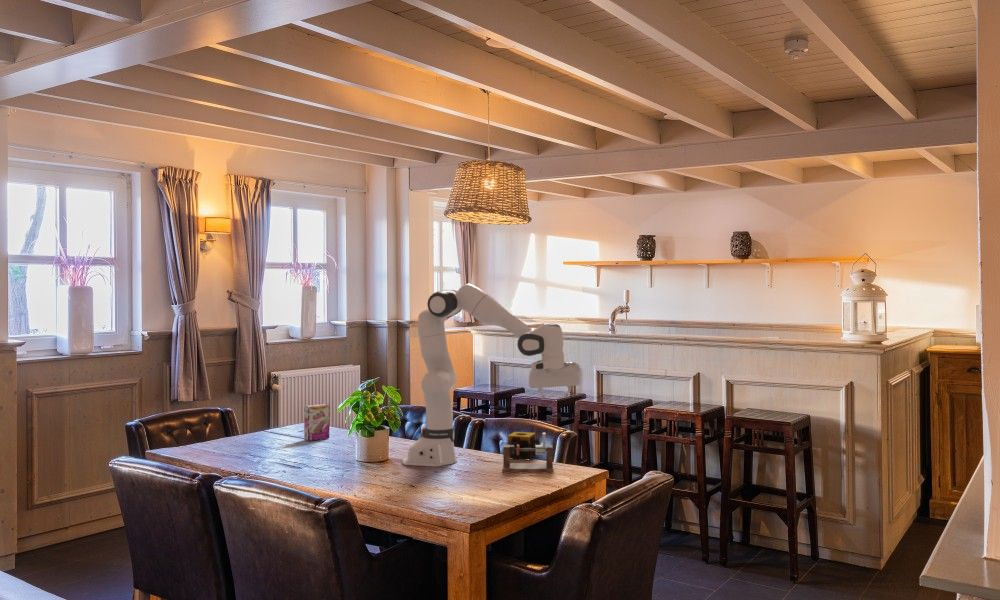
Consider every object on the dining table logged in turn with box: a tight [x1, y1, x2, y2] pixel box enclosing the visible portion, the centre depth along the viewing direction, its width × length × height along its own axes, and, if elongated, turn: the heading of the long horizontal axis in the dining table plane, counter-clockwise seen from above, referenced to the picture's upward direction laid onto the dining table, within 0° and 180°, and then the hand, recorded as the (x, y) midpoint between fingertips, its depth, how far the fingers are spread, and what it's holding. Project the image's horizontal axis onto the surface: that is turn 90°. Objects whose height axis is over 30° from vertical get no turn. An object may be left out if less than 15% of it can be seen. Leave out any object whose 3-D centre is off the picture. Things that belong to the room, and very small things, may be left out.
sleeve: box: [536, 432, 547, 456], centre depth 317 cm, size 4×3×8 cm
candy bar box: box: [303, 403, 330, 442], centre depth 381 cm, size 11×5×16 cm, turn 130°
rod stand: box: [502, 444, 555, 474], centre depth 317 cm, size 20×10×10 cm, turn 87°
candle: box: [507, 431, 537, 461], centre depth 340 cm, size 10×10×10 cm
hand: (555, 398), depth 318 cm, fingers open, 8 cm apart
